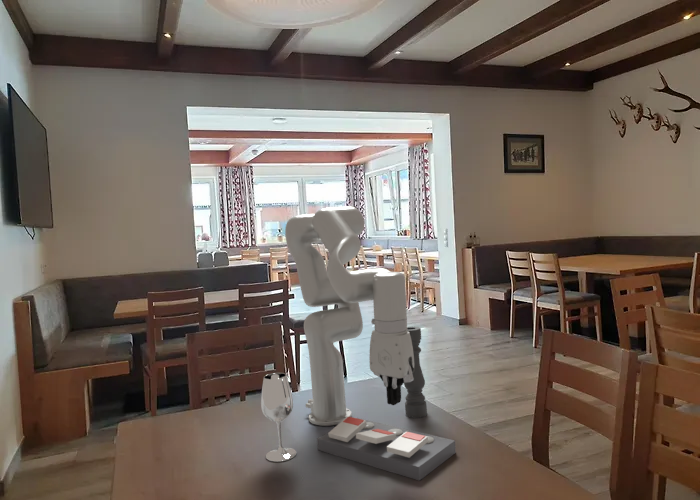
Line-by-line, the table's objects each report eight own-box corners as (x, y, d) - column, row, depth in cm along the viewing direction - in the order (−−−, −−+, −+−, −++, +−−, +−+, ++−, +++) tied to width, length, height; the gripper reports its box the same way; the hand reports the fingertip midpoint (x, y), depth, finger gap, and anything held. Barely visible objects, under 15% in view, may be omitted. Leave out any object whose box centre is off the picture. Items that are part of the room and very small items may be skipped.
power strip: (305, 446, 136) (304, 433, 136) (345, 425, 148) (344, 413, 148) (419, 480, 113) (418, 465, 113) (455, 452, 126) (454, 439, 126)
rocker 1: (329, 437, 132) (328, 432, 131) (348, 420, 138) (347, 415, 137) (347, 442, 128) (346, 437, 127) (366, 424, 134) (365, 420, 133)
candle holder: (426, 418, 149) (420, 330, 148) (404, 417, 150) (398, 331, 149) (427, 410, 155) (422, 326, 154) (406, 410, 157) (401, 326, 155)
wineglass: (302, 449, 134) (296, 371, 133) (288, 463, 126) (282, 381, 125) (274, 447, 136) (268, 371, 135) (259, 460, 129) (253, 380, 128)
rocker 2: (355, 438, 126) (356, 432, 126) (376, 433, 132) (376, 428, 132) (376, 443, 122) (376, 437, 122) (396, 438, 128) (396, 433, 128)
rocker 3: (387, 451, 120) (386, 445, 120) (406, 436, 126) (405, 430, 126) (409, 457, 116) (408, 451, 116) (428, 441, 122) (427, 435, 122)
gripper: (355, 325, 124) (359, 401, 125) (408, 332, 114) (411, 415, 116) (375, 319, 130) (378, 392, 131) (427, 325, 120) (430, 404, 121)
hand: (394, 402), depth 123 cm, fingers closed
